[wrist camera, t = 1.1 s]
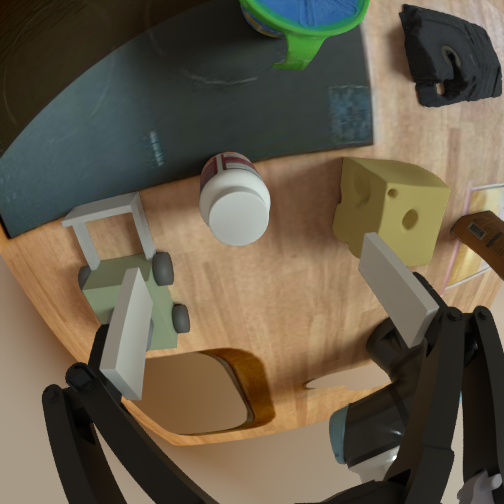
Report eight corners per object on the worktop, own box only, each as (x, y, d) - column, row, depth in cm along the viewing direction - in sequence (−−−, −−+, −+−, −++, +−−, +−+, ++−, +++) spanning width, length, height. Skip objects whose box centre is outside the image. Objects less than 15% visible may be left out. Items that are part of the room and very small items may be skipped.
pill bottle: (216, 211, 32) (219, 266, 23) (191, 166, 29) (181, 205, 20) (264, 188, 31) (289, 235, 22) (242, 141, 28) (259, 168, 19)
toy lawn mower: (190, 317, 41) (189, 366, 33) (118, 325, 40) (107, 370, 33) (151, 188, 29) (133, 224, 22) (64, 209, 28) (30, 247, 21)
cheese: (329, 229, 36) (363, 275, 28) (340, 150, 30) (387, 177, 22) (391, 227, 37) (430, 266, 29) (406, 158, 31) (457, 185, 23)
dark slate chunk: (494, 106, 27) (514, 112, 23) (411, 107, 28) (434, 112, 24) (482, 25, 19) (502, 26, 15) (388, 1, 19) (411, -5, 15)
